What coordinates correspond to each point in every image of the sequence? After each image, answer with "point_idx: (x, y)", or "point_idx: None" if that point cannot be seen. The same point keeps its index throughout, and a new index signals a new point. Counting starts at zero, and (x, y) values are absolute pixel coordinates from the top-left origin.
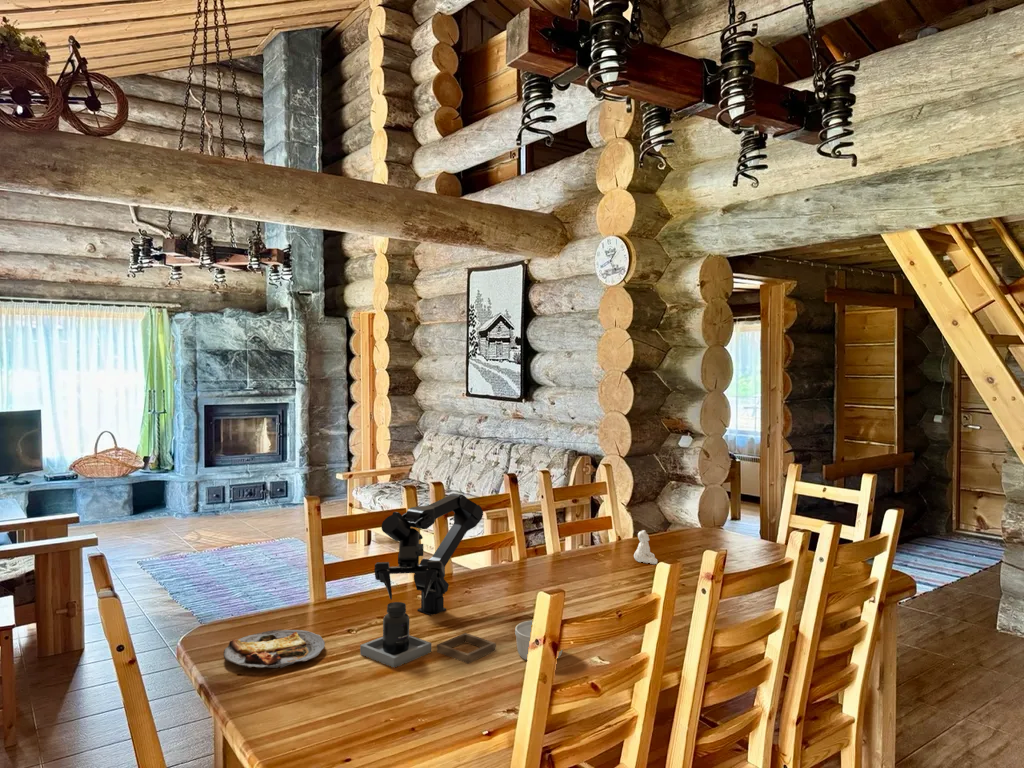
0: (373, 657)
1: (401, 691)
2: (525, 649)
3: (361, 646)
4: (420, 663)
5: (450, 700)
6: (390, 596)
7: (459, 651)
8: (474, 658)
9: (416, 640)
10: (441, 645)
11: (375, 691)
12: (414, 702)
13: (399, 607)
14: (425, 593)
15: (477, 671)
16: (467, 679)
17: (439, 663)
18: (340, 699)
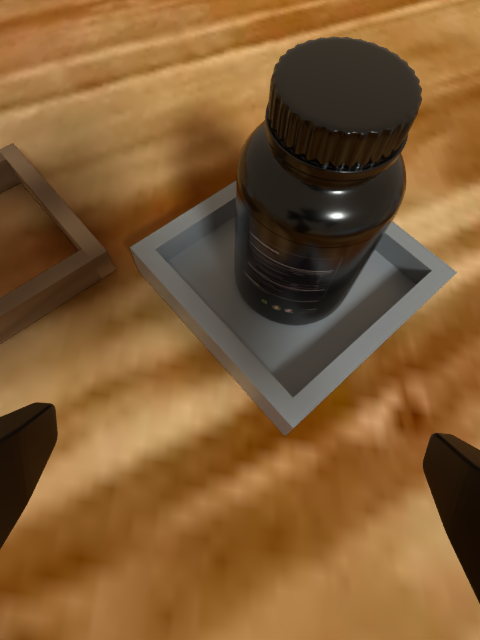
0: None
1: (262, 59)
2: None
3: (447, 269)
4: (195, 191)
5: (143, 13)
6: (454, 439)
7: (31, 177)
8: None
9: (196, 294)
10: (88, 238)
11: None
12: (231, 19)
13: (318, 39)
14: (13, 414)
15: (17, 118)
16: (67, 83)
17: (127, 182)
18: (413, 51)
